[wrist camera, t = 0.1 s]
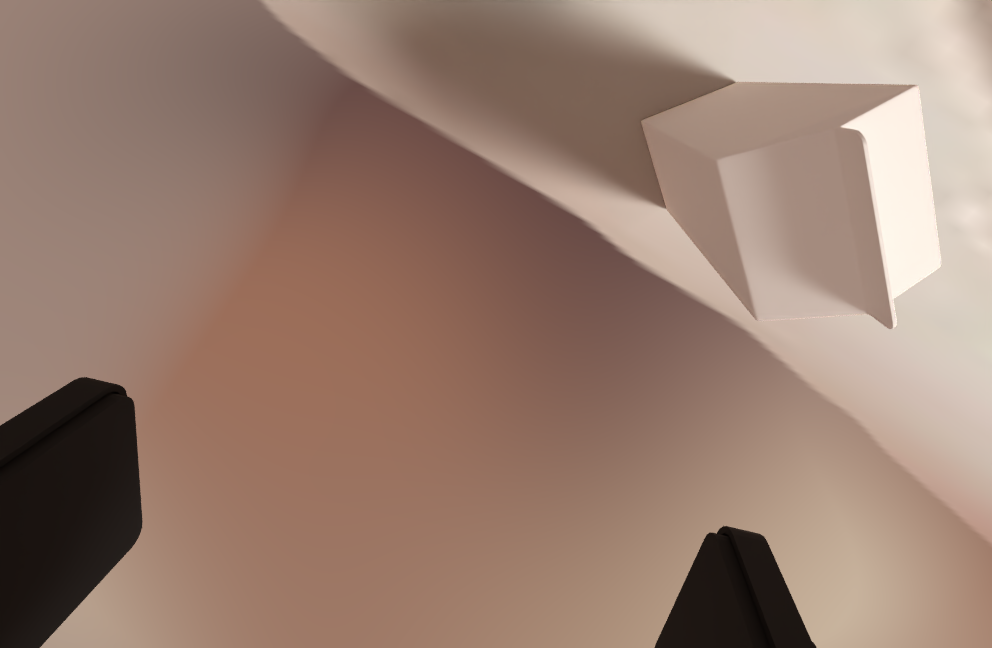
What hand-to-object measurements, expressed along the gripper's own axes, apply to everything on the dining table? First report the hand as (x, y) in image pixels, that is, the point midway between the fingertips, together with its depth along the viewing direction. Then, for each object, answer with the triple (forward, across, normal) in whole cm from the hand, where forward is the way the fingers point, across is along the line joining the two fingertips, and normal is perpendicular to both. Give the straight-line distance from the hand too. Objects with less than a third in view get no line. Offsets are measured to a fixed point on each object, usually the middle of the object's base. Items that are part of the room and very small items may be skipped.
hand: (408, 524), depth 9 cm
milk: (+31, -10, -5) cm, 33 cm away
